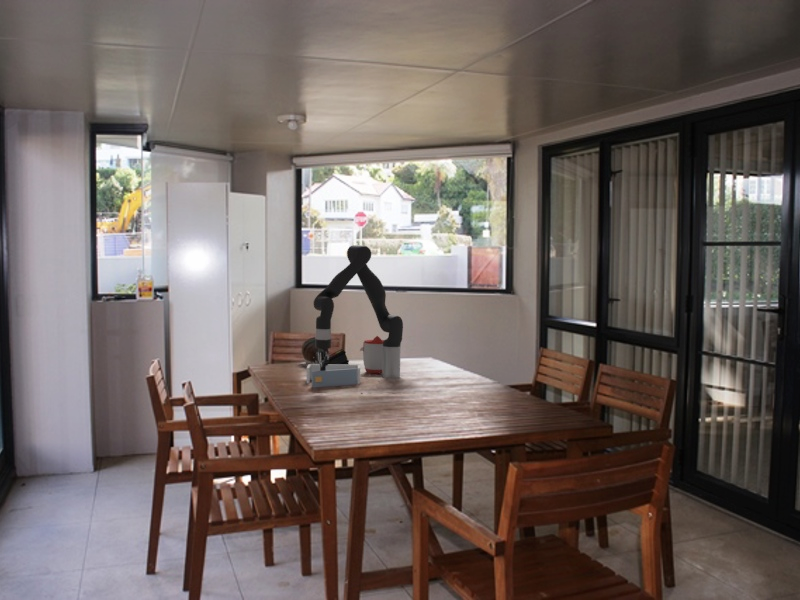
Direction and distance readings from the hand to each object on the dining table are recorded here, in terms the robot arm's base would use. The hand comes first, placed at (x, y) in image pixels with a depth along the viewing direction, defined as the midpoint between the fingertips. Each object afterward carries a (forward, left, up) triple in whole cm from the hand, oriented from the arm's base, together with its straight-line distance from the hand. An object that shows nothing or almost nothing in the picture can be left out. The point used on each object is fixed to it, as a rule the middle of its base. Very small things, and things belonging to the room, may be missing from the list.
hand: (322, 373), depth 353 cm
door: (0, +6, -6) cm, 8 cm away
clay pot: (-66, -7, -7) cm, 67 cm away
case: (-11, +5, -7) cm, 14 cm away
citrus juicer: (-47, +26, -7) cm, 54 cm away
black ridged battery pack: (-28, +6, -7) cm, 29 cm away
